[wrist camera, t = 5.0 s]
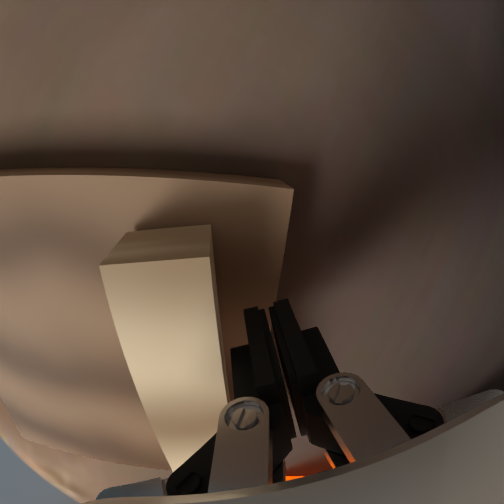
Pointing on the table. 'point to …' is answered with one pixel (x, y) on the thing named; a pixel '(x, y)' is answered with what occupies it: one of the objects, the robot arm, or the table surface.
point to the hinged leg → (170, 332)
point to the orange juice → (292, 477)
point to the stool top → (94, 296)
